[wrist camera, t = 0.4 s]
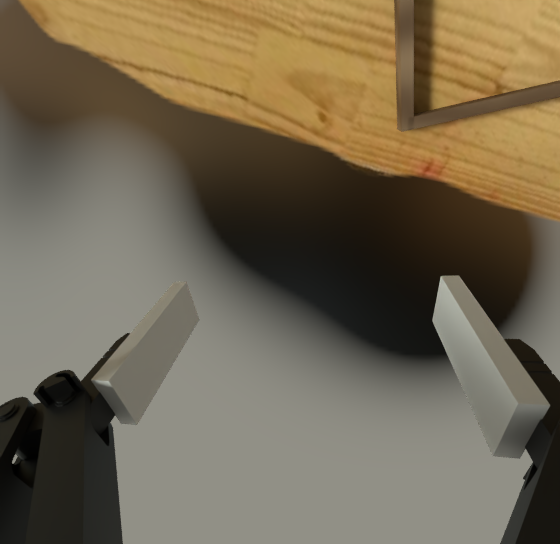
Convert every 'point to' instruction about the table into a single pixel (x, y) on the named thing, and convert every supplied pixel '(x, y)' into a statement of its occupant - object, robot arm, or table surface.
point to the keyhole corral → (453, 112)
